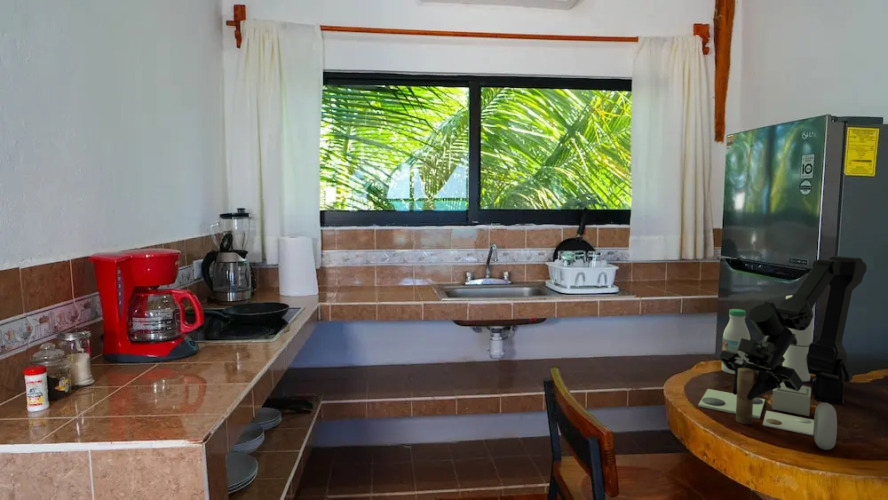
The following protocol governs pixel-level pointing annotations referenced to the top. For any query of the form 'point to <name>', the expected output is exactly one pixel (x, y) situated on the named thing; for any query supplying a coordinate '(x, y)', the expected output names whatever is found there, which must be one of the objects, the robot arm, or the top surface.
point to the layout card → (789, 423)
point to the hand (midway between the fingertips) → (741, 396)
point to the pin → (744, 396)
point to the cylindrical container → (799, 351)
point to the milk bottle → (735, 334)
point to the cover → (792, 400)
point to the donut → (825, 426)
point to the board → (728, 402)
